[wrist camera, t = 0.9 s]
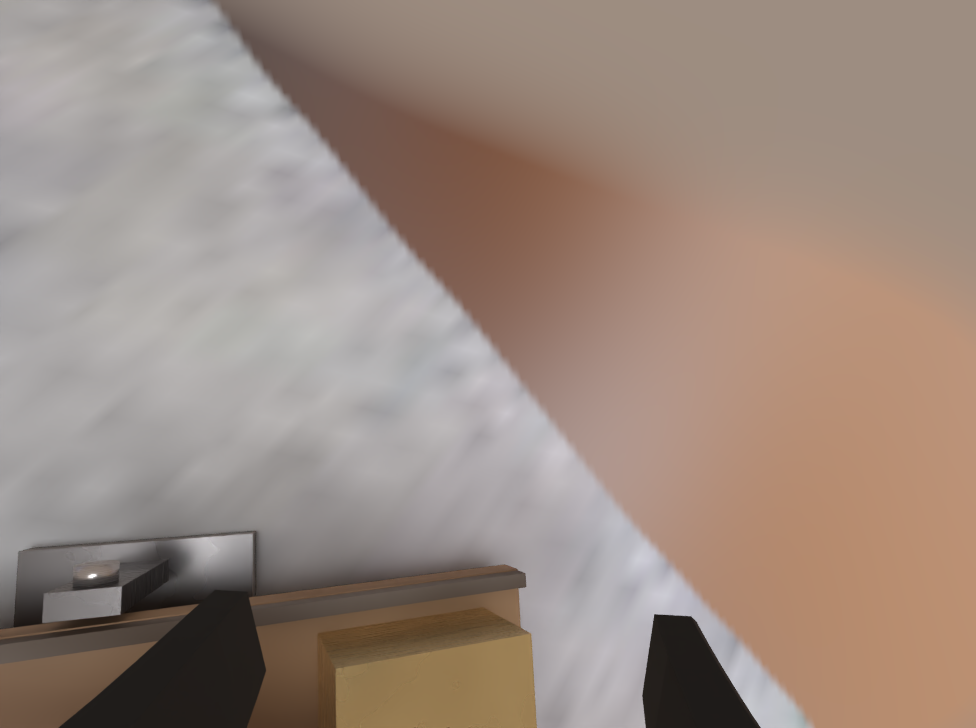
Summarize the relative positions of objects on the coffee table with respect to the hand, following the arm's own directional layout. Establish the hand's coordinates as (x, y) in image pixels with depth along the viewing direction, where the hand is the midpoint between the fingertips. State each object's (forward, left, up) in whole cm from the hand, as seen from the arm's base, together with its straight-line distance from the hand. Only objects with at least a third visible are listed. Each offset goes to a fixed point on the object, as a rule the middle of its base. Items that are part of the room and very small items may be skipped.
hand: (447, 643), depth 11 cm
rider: (-4, -1, -11) cm, 12 cm away
